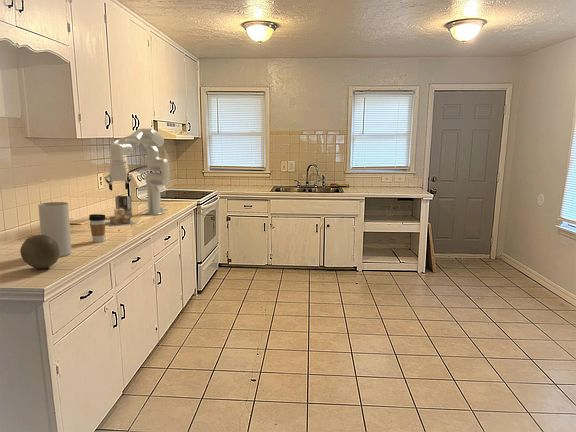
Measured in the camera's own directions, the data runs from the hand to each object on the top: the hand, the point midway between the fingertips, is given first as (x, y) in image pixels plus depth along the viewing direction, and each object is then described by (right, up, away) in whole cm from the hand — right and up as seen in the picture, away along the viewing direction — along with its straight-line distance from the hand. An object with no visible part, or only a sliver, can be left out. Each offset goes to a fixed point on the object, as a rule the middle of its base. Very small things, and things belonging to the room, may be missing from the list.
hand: (118, 189), depth 272 cm
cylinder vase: (-3, -36, -68) cm, 77 cm away
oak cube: (-1, -18, +3) cm, 18 cm away
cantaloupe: (+3, -40, -90) cm, 99 cm away
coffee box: (-7, -19, +27) cm, 34 cm away
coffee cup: (+5, -31, -40) cm, 51 cm away
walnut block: (-1, -22, +3) cm, 22 cm away
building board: (-1, -23, +4) cm, 24 cm away
